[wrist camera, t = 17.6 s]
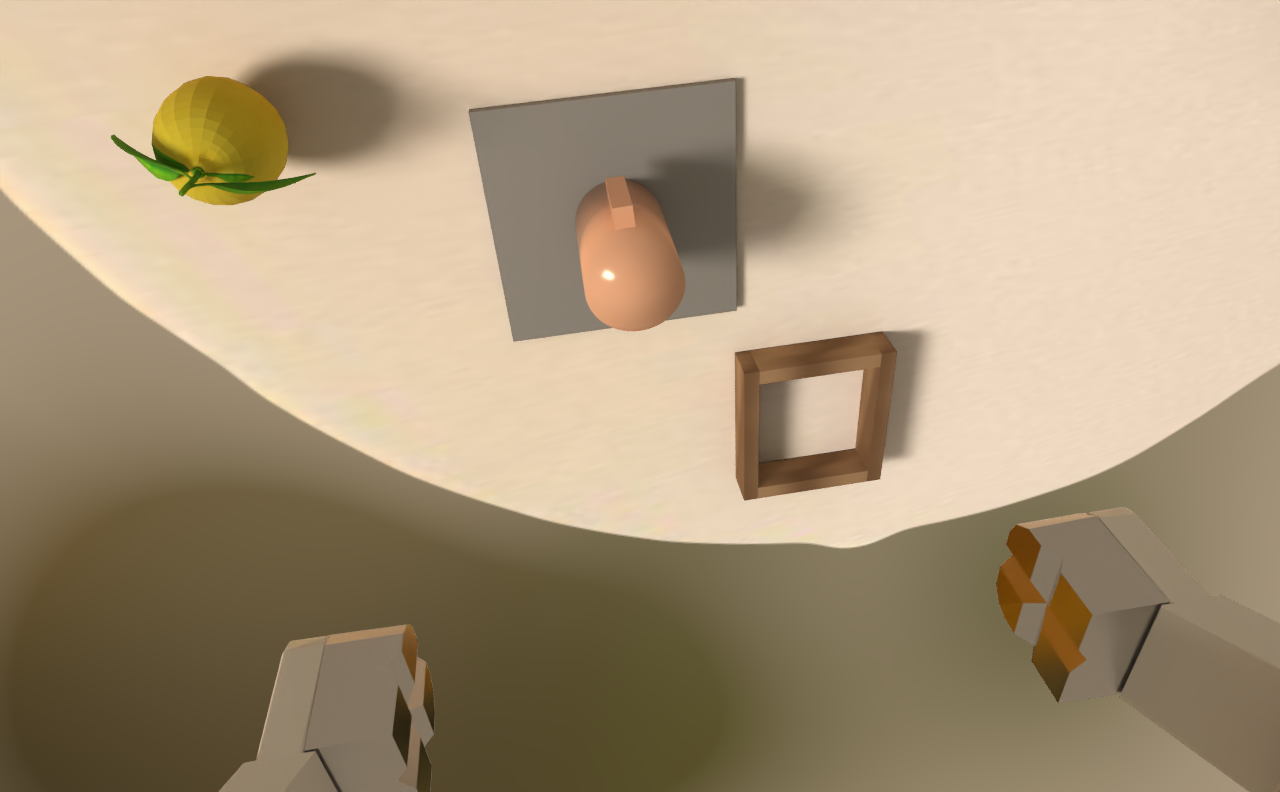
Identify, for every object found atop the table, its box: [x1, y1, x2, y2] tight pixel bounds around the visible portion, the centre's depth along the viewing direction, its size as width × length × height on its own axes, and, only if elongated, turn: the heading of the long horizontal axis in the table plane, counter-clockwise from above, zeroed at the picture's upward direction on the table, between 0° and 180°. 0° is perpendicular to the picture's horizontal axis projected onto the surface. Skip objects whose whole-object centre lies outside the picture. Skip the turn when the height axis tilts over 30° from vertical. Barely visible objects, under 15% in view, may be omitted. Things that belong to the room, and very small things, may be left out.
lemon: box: [111, 76, 316, 205], centre depth 38 cm, size 7×6×10 cm
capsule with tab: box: [575, 176, 686, 331], centre depth 44 cm, size 5×6×8 cm
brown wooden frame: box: [735, 332, 897, 500], centre depth 57 cm, size 10×11×2 cm
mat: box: [469, 78, 737, 341], centre depth 47 cm, size 14×14×1 cm
